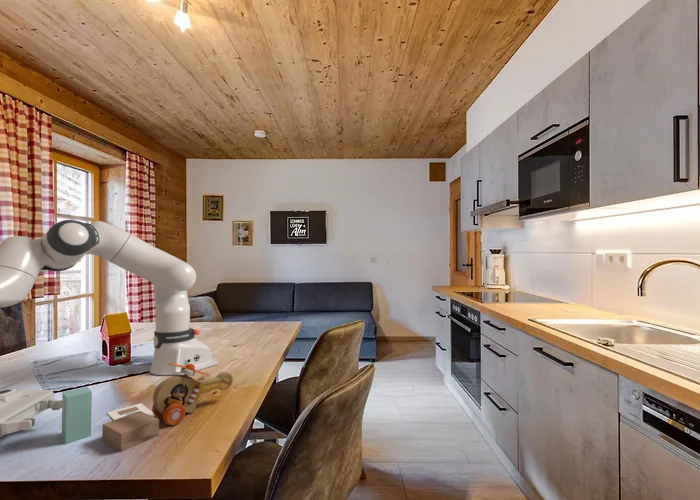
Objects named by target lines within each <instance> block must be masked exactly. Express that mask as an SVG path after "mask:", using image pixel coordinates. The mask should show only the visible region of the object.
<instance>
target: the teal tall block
mask: <svg viewBox="0 0 700 500" xmlns="http://www.w3.org/2000/svg"><path fill="white" fill-rule="evenodd" d="M61 393H62V397H61V398H62V399H61V400H62V408H61V438H62V440H63V442H64V443H65V445H66V444H70V443H73V442H76V441H79V440H82V439H86V438H89V437H92V405H93V404H92V400H93V399H92V398H93V397H92V396H93V392H92V391H91V390H90V388H89V387H88V386H83V387H80V388H75V389H71V390H66V391H62V392H61Z"/></svg>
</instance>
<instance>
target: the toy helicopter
mask: <svg viewBox="0 0 700 500" xmlns="http://www.w3.org/2000/svg"><path fill="white" fill-rule="evenodd" d="M168 364H169V365H172V366H177V367H182V369H181V371H180V372H181V373H184V375H171V376H170V377H167V378H165V379H163V380H162V381H161V382H160V383H159V384H158V385H157V386H156V387H155V389H154V392H153V396H152V401H153V402H152V403H153V405H152V407H151V411H152V412H153V414H154V415H155V417H156V418H162V419H163V421H164V423H165V424H167V425H168V426H176V425H179V424H180V423H181V422H182V421H183V420H184V418H185V417H186V413H187V414H190V413H191V414H193V413H195V411H196V409H197V403H198V401H199V400H200V397H201V396H202V395H203V394H206V393H210V392H213V391H216V390H221V391H226V390H228V389H229V388H230V387H231V386H232V384H233V381H234V377H233V375H232V374H231V373H230V372H228V371H221V372H220V373H218V374H217V375H216V376H213V377H211V378H206V379H200V380H196V379H195V378H194V377H195V374H196V373H198V374H201V375H204V376H209V377H210V376H211V374H210V373H207V372H203V371H200V370H194V369H195V366H194V365H193V364H187V365H186V366H182V365H179V364H174V363H168Z"/></svg>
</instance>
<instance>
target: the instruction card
mask: <svg viewBox="0 0 700 500" xmlns="http://www.w3.org/2000/svg"><path fill="white" fill-rule="evenodd" d="M138 411H141V412H143V413H146V414H148V415H151V416H153V417H155V418H156V416H155V415H154V414H153V412H152V409H149V408H148V407H147V406H146V405H144V404H143V403H141V402H140V403H137V404H133V405H130V406H126V407H122V408H119V409H118V408H117V409H116V410H115V409H114V410H112V411H109V412H106V414H107V415H108V416H109V417H110V418H111V419H112V421H113V420H116V419H119V418H122V417H124V416H127V415H130V414H133V413H135V412H138Z"/></svg>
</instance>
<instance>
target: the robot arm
mask: <svg viewBox="0 0 700 500" xmlns="http://www.w3.org/2000/svg"><path fill="white" fill-rule="evenodd" d="M86 255H93V256H97V257H100V258H102V259H104V260H105V261H107V262H109V263H111V264H113V265H116V266H117V267H119V268H121V269H124V270H125V271H127V272H129V273H131V274H133V275H136V276H138V277H140V278H142V279H143V280H144V279H145V280H146V281H148V282H150V283H153V294H154V302H155V330H154V332H153V333H154V334H153V335H154V336H153V345H154V346H153V347H154V351H153V356H152V363H151V365H150V369H149V373H150V374H153V375H156V376H176V375H185V374H184V373H181V372H180V371H181V369H182V367H177V366H172V365H169V364H168V363H174V364H179V365H182V366H186V365H187V364H193V365H194V366H195V369H194V370H197V371H200V370H204V369H206V368H210V367H213V366H216V365H218V364H219V362H218V359H217V358H215V357H213V356H212V352H211V348H210V347H209V346H208V345H207V343H206V344H205V343H204V342H202V341H201V340H200V339H198V338H196V336H199V335H200V333H201V332H200V329H198V328H192V327H191V305H190V303H189V297H188V290H189V289H191V288H192V287H193V286H194V284H195V283H196V281H197V273H196V270H195V268H193V266H192V265H190V264H189V263H188V262H186V261H184V260H182V259H181V258H178V257H176V256H174V255H172V254H170V253H168V252H166V251H164V250H162V249H161V248H157V247H156V246H153V245H152V244H150V243H148V242H147V241H144V240H142V239H141V238H139V237H137V236H135V235H134V234H131V233H130V232H128V231H126V230H124V229H123V228H120V227H117V226H116V225H113V224H111V223H109V222H108V223H107V222H105V221H101V220H96V221H93V222H90V223H89V222H83V221H80V220H76V219H75V220H74V219H65V220H60V221H59V222H56V223H54V224H53V225H52V226H51V227H49V229H48V230H47V231H46V232H45V233H44V235H42V237H41V238H38V239H36V238H31V237H27V236H23V235H22V236H20V235H19V236H18V235H17V236H16V235H14V236H9V237H7V238H5V239H3V240H2V241H1V242H0V308H8V307H12V306H14V305H16V304H19V303H21V302H23V301H24V300H25V299H26V298H27V297H28V295H29V294H30V292H31V290H32V289H33V287H34V285H35V282H36V280H37V278H38V275H39V274H40V273H41V271H50V272H63V271H67V270H70V269H71V268H73V267H74V266H75V265H76V264H77V263H79V262H81V261H82V260H83V258H84V257H85V256H86ZM54 395H55V393H54V391H52V390H50V389H26V390H25V389H24V390H23V389H22V390H18V391H17V389H16V388H9V389H5V390H0V438H1V437H4V436H5V435H8V434H12V433H15V432H19V431H27V430H30V429H32V428H33V427H34V426H36V419H35V418H34V417H36V416H37V415H39V414H41V413H42V412H44V411H46V410H49V409H51V411H59V410H62V399H55V396H54Z"/></svg>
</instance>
